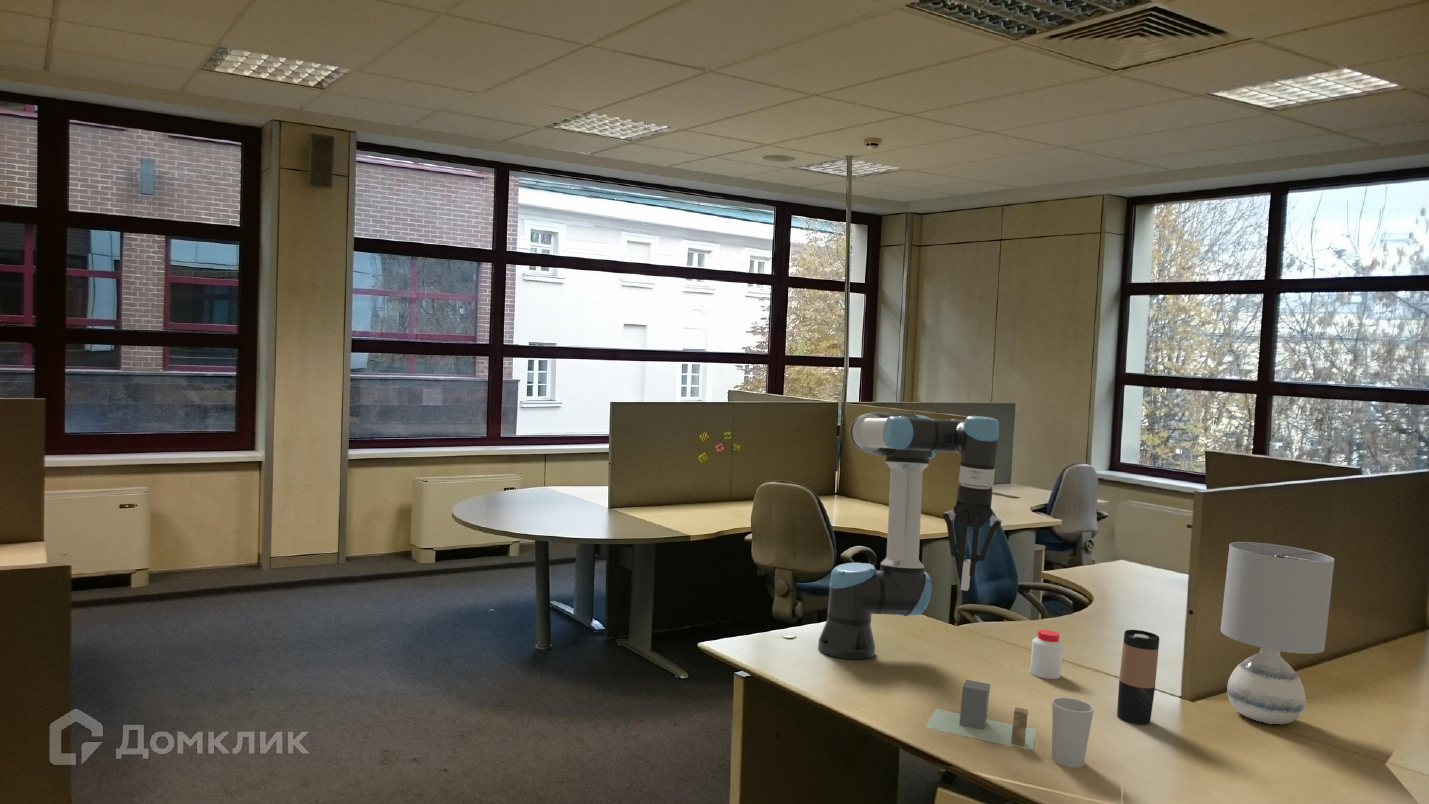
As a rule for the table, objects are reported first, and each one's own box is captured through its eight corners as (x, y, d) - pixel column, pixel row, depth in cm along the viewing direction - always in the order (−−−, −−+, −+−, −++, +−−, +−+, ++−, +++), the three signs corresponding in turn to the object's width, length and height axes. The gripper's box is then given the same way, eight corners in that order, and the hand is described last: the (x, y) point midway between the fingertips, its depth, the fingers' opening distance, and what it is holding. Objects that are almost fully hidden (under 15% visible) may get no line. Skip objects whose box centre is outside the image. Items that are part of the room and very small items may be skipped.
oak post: (1011, 743, 205) (1014, 711, 205) (1012, 739, 207) (1015, 707, 207) (1023, 746, 204) (1027, 713, 204) (1025, 742, 206) (1028, 709, 206)
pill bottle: (1056, 670, 259) (1060, 630, 259) (1063, 680, 252) (1067, 638, 251) (1026, 667, 260) (1030, 627, 259) (1033, 677, 252) (1037, 635, 252)
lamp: (1324, 721, 235) (1343, 555, 233) (1303, 743, 219) (1323, 565, 217) (1227, 695, 250) (1243, 538, 247) (1200, 713, 234) (1217, 547, 232)
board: (925, 729, 210) (925, 727, 210) (935, 710, 223) (935, 708, 222) (1031, 752, 202) (1032, 750, 202) (1036, 731, 214) (1036, 729, 214)
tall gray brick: (959, 724, 213) (962, 686, 213) (962, 717, 218) (966, 679, 218) (983, 730, 211) (987, 691, 211) (986, 722, 216) (990, 684, 216)
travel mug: (1149, 716, 229) (1158, 632, 228) (1152, 728, 222) (1161, 641, 221) (1114, 710, 232) (1122, 627, 230) (1116, 721, 224) (1125, 635, 223)
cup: (1040, 753, 202) (1045, 696, 201) (1077, 755, 203) (1082, 698, 202) (1056, 770, 194) (1062, 711, 193) (1095, 771, 195) (1101, 712, 194)
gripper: (943, 483, 217) (932, 587, 219) (1004, 492, 212) (992, 598, 214) (948, 479, 224) (938, 580, 226) (1007, 487, 219) (996, 590, 221)
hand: (964, 588), depth 220 cm, fingers closed
